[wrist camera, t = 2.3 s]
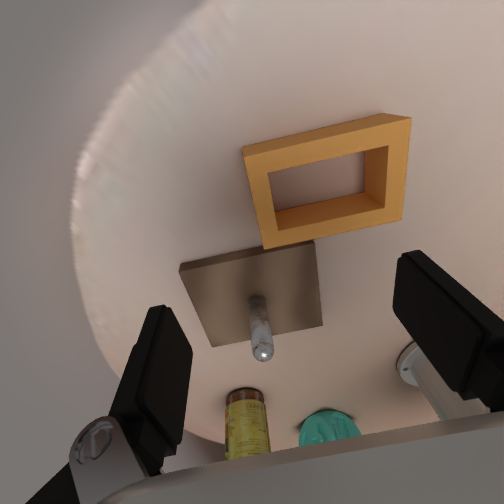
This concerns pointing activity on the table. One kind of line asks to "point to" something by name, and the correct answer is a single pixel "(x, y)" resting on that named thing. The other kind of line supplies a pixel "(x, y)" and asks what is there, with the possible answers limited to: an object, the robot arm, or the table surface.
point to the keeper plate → (255, 294)
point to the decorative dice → (327, 428)
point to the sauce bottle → (246, 425)
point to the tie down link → (343, 208)
